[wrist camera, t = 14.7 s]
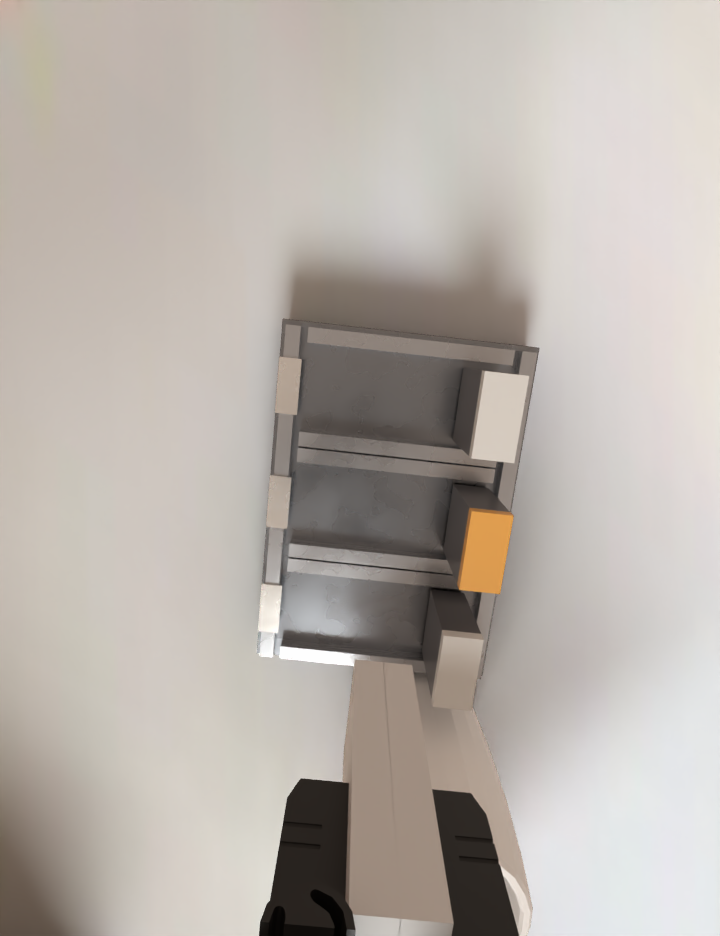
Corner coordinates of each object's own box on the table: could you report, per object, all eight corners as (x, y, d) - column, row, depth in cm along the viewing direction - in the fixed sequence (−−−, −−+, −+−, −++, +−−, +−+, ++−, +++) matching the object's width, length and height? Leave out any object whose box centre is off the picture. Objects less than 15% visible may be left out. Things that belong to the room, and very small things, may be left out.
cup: (325, 697, 37) (302, 904, 23) (426, 629, 36) (465, 803, 22) (399, 783, 38) (419, 1027, 25) (498, 720, 37) (578, 938, 23)
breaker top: (452, 440, 30) (471, 458, 25) (463, 367, 30) (485, 370, 24) (488, 443, 31) (514, 463, 25) (499, 371, 30) (529, 375, 24)
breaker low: (421, 650, 33) (432, 707, 28) (430, 589, 32) (443, 635, 27) (454, 653, 33) (471, 710, 28) (464, 593, 32) (483, 639, 27)
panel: (263, 632, 36) (253, 661, 33) (289, 321, 32) (280, 317, 29) (473, 654, 36) (485, 685, 33) (525, 348, 32) (544, 347, 29)
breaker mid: (443, 550, 32) (459, 589, 27) (453, 484, 31) (471, 511, 26) (477, 554, 32) (499, 594, 27) (488, 487, 31) (513, 515, 26)
